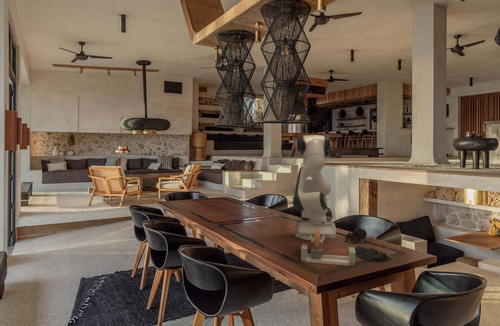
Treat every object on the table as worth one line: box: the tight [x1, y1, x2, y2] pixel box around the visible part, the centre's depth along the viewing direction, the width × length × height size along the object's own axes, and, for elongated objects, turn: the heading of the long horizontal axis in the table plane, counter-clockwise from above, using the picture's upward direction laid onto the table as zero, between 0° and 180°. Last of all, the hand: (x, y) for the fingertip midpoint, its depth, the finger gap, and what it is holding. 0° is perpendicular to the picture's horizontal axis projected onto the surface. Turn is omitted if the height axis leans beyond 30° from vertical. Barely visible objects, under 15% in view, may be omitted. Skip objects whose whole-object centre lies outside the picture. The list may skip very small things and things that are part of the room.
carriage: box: [310, 230, 323, 257], centre depth 203 cm, size 8×6×13 cm
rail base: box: [300, 243, 357, 267], centre depth 202 cm, size 10×28×7 cm, turn 78°
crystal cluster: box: [344, 226, 368, 244], centre depth 244 cm, size 13×14×10 cm
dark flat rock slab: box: [346, 245, 391, 263], centre depth 212 cm, size 15×22×5 cm
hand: (316, 243), depth 202 cm, fingers closed on carriage, 3 cm apart
